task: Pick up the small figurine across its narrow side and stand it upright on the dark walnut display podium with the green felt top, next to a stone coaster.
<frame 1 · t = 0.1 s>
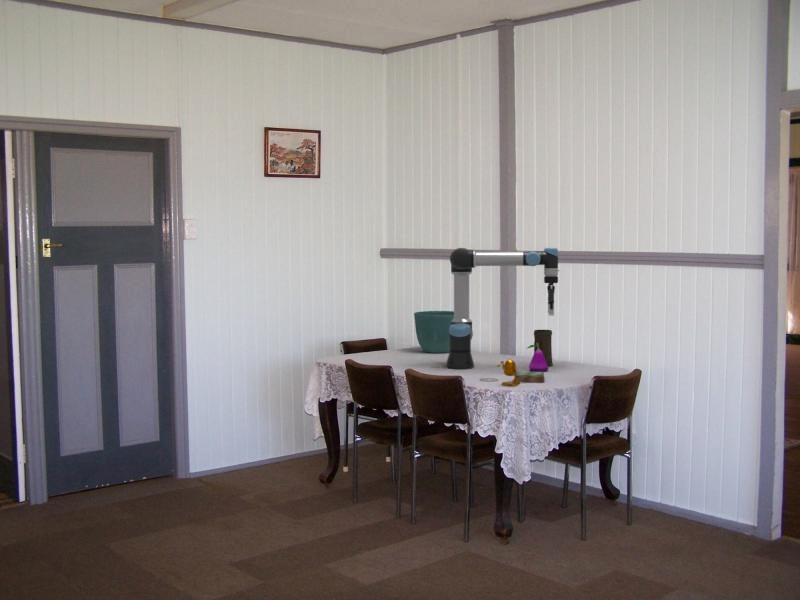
hand: (550, 314, 495), 28 cm above the table, fingers open, 13 cm apart
podium: (529, 380, 445), on the table
coaster: (488, 380, 445), on the table
figurine: (510, 384, 432), on the table
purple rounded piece: (538, 371, 476), on the table
beer stein: (543, 365, 497), on the table
flower pot: (438, 351, 559), on the table
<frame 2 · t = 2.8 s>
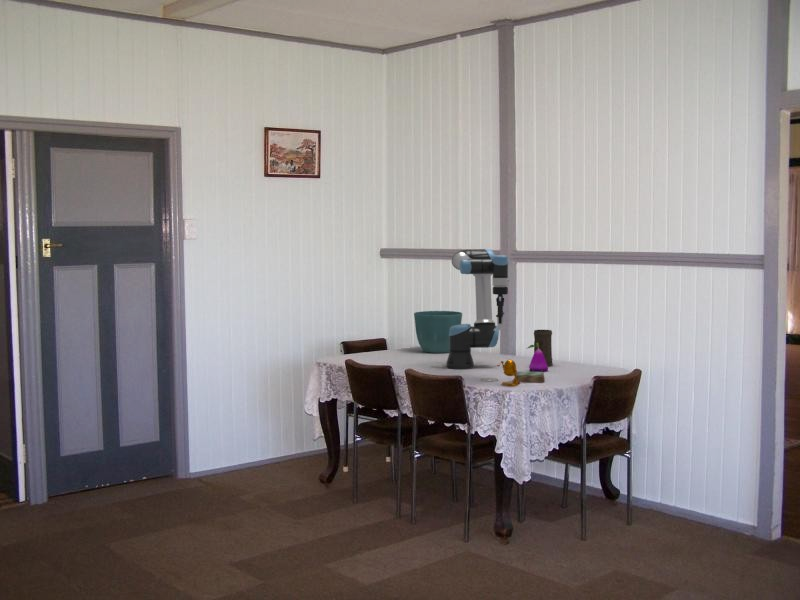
hand: (500, 328, 449), 25 cm above the table, fingers open, 13 cm apart
nothing on the table moved.
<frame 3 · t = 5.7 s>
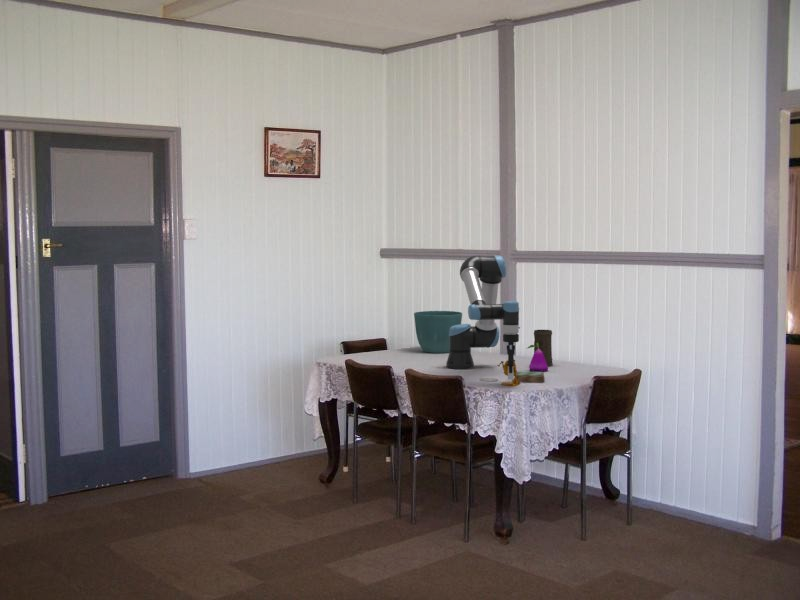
hand: (510, 377, 432), 3 cm above the table, fingers open, 13 cm apart
nothing on the table moved.
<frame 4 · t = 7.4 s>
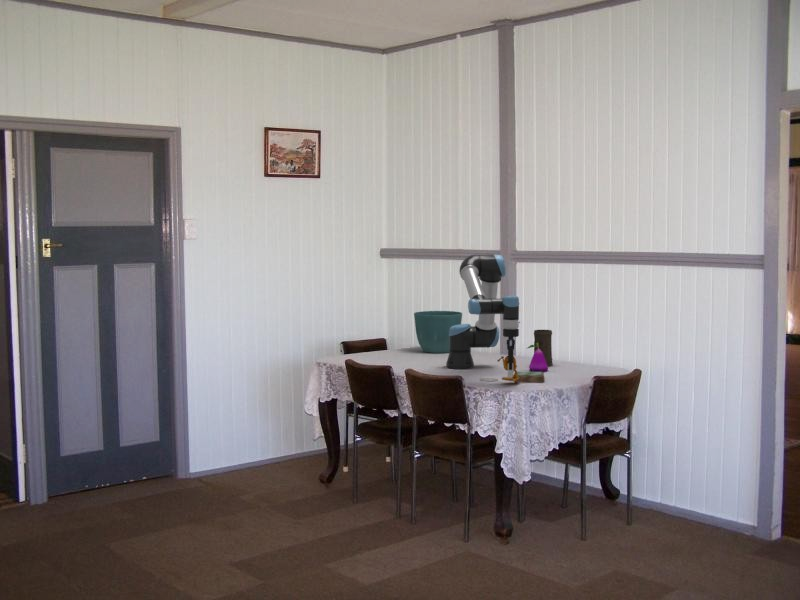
hand: (510, 374, 432), 5 cm above the table, fingers closed on figurine, 9 cm apart
figurine: (510, 380, 434), point 2 cm above the table, touching gripper
everything else where it was.
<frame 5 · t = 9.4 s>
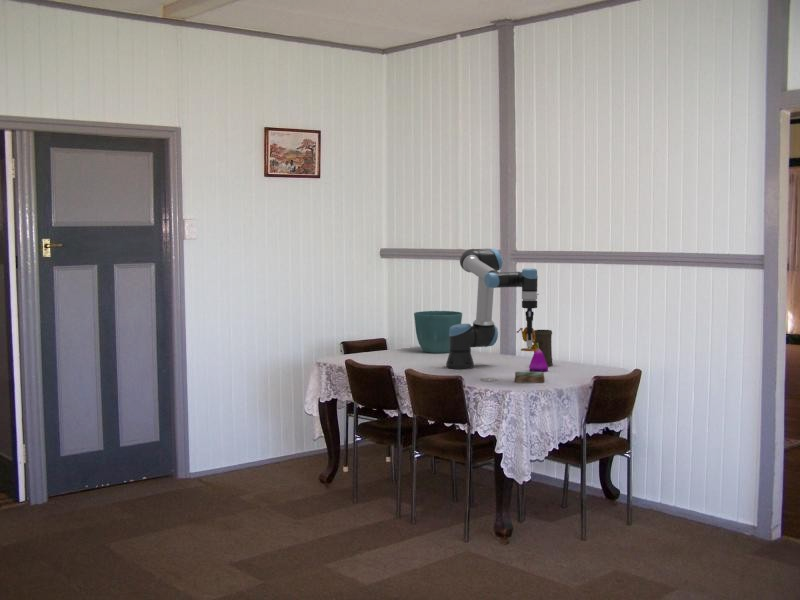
hand: (529, 345, 443), 17 cm above the table, fingers closed on figurine, 9 cm apart
figurine: (529, 350, 445), point 14 cm above the table, touching gripper
everything else where it was.
when the fingers open (6 cm above the table, at t = 12.2 s): figurine stays where it is, resting on podium.
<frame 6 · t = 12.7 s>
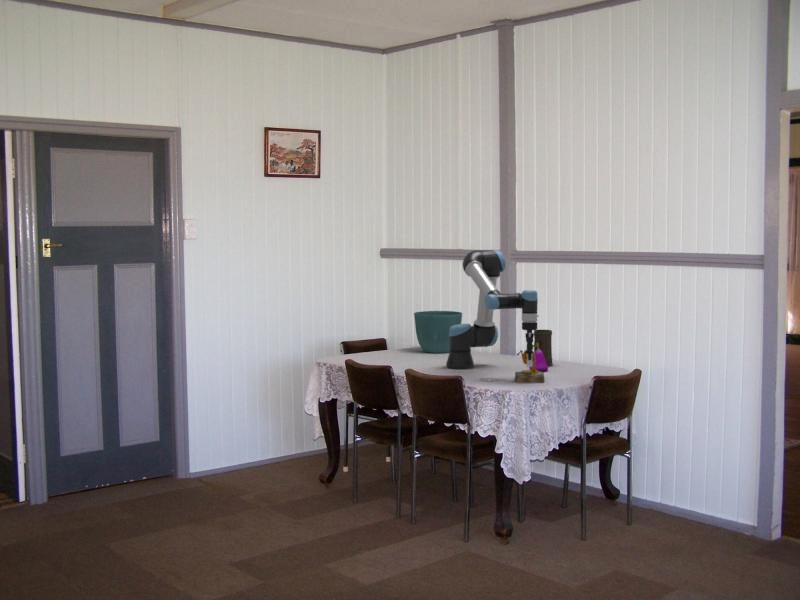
hand: (529, 364, 444), 8 cm above the table, fingers open, 13 cm apart
figurine: (529, 373, 446), point 3 cm above the table, touching podium
everything else where it was.
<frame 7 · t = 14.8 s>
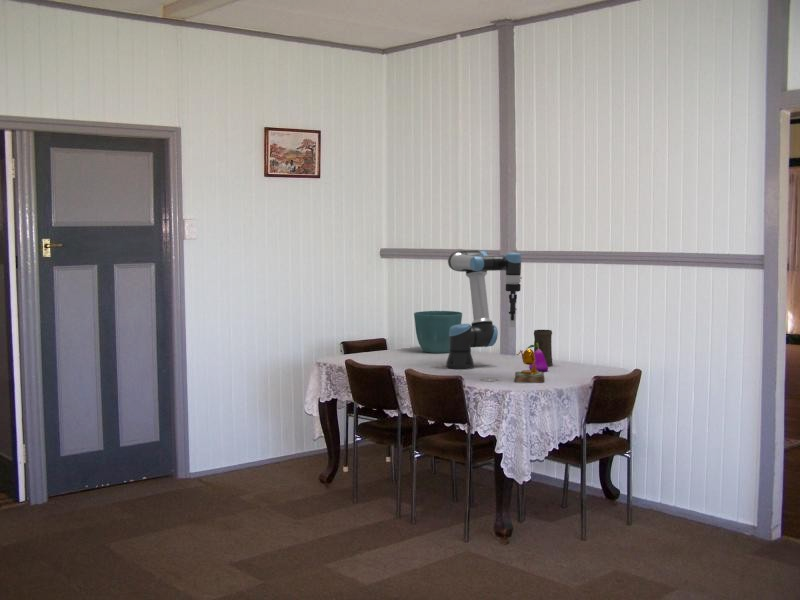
hand: (512, 325, 458), 26 cm above the table, fingers open, 13 cm apart
nothing on the table moved.
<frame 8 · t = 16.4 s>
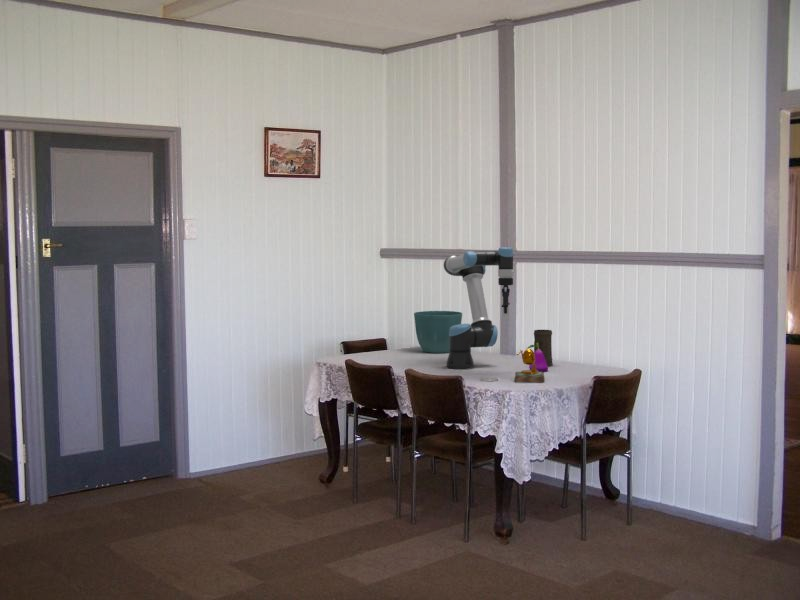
hand: (505, 318, 463), 29 cm above the table, fingers open, 13 cm apart
nothing on the table moved.
at the end: figurine inside the target area on the podium (1.6 cm from its centre), point 3.1 cm above the podium's base; figurine tilted 0°; the gripper is holding nothing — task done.
